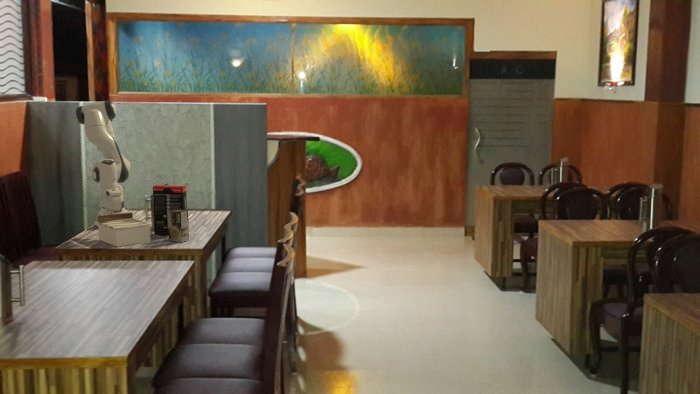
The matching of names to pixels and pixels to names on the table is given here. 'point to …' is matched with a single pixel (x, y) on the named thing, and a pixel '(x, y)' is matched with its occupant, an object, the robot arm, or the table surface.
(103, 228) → the gift box base
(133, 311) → the table surface
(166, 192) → the graphics card box
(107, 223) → the box lid
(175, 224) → the coffee box
